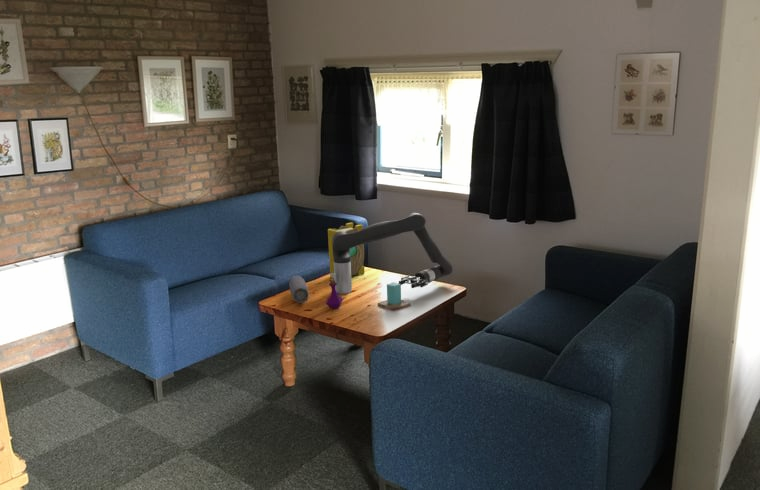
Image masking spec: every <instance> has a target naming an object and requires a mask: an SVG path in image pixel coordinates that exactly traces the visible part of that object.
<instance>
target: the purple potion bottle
mask: <svg viewBox="0 0 760 490" xmlns="http://www.w3.org/2000/svg"><path fill="white" fill-rule="evenodd" d="M335 275H336V274H335V273H331V277H330V278H331V279H329V283H328V286H330V287H331V293H330V295H329V297H328V298H327V300H326V302H325V305H326V306H327V307H328V308H329V309H331V308H332V309H333V310H334V309H335V310H337V309H339V308H340V306H341V304H342V303H343V301H344V299H343V298H342V297H341V295H340V294H339V293H337V292H336V290H335V286H336V285H337V283H335V280H334V276H335Z"/></svg>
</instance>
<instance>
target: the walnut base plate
mask: <svg viewBox="0 0 760 490" xmlns="http://www.w3.org/2000/svg"><path fill="white" fill-rule="evenodd" d="M377 306H379V307H380V308H384V309H386V310H389V311H391V312H396V311H400V310H401V309H406V308H409V307H411V306H412V303H411V302H408V301H406V300H403V299H401V303H399V304H397V305H392V304H388V303H387V299H386V300H382V301H379V302H377Z"/></svg>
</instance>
